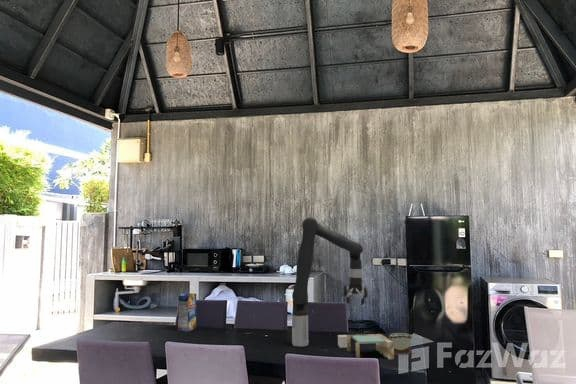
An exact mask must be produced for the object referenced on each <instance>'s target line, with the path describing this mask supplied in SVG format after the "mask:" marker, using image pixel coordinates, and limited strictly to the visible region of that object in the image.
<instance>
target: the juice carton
mask: <svg viewBox="0 0 576 384" xmlns="http://www.w3.org/2000/svg"><path fill="white" fill-rule="evenodd" d="M177 307H178V308H177V309H178V310H177V312H178V314H177V315H178V316H177V317H178V318H177V332H187V333H188V332H190V331H193V330H195V329H196V327H197V293H188V292H187V293H183V294H179V295H178V306H177Z"/></svg>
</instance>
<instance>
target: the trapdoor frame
mask: <svg viewBox="0 0 576 384" xmlns="http://www.w3.org/2000/svg"><path fill="white" fill-rule="evenodd" d="M346 335H347V348H346V352H351V350H352V349H351V348H352V346H351V345H352V343H351V339H353V338H352V336H370V335H377V336H379V337H380V338H382V339H383V340H385V343H375V350H376V351H377V352H378V351H379V354H381V355H382V354H383V355H382V356H383V357H384V358H386V357H387V358H388V359H387V358H386V359H387V360H395V354H394V342H393V341H391V339H389V337H387V336H385V335H383V334H381V333H375V334H373V333H372V334H370V333H369V334H346ZM360 348H361V347H360V344H359V342H357V341H355V359H356V358H360V359H361V354H360V353H361V351H360Z"/></svg>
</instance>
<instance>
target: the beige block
mask: <svg viewBox="0 0 576 384" xmlns="http://www.w3.org/2000/svg"><path fill="white" fill-rule="evenodd" d="M347 335H348V334H338V335H337V346H338V347H339V348H340V349H342V348H346V349H347Z"/></svg>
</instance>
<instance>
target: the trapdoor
mask: <svg viewBox="0 0 576 384" xmlns="http://www.w3.org/2000/svg"><path fill="white" fill-rule="evenodd" d="M369 335H370V334H369ZM351 339H353V340H354V341H355V342H359V345H360V344H361V345H362V344H363V345H364V344H366V345H367V344H376V343H385V340H383V339H382V338H380V337H379V336H377V335H370V336H352V338H351Z"/></svg>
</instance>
